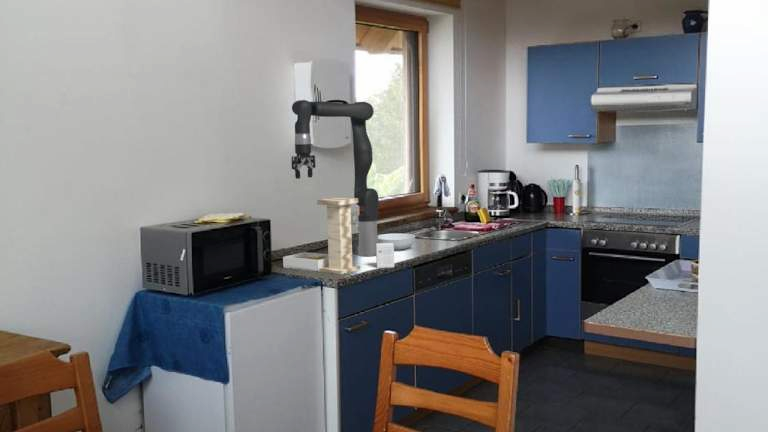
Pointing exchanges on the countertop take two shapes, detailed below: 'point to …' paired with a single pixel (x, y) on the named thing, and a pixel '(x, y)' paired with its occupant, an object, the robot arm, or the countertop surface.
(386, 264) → the small box
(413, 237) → the serving bowl
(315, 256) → the strut
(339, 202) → the birch pedestal
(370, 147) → the robot arm
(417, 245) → the countertop surface
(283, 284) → the countertop surface
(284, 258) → the grey tray
